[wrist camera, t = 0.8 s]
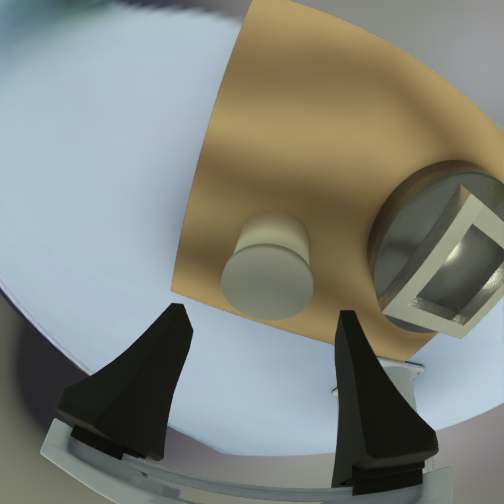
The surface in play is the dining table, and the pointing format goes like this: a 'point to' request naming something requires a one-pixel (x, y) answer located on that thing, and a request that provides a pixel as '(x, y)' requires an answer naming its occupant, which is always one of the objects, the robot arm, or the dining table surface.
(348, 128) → the board
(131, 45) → the dining table surface
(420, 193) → the grey round socket base
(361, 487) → the robot arm
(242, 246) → the flanged cap
